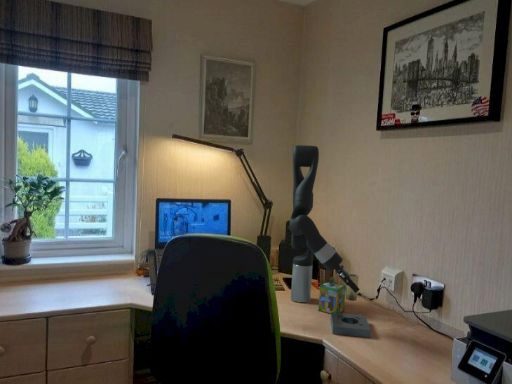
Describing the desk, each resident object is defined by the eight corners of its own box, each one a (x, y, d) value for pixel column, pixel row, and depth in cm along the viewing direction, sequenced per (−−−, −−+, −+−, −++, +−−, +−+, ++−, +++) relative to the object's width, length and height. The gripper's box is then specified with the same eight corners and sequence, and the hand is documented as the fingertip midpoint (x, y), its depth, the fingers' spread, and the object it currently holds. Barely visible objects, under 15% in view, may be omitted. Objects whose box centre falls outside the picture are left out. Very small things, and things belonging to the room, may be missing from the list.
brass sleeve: (345, 296, 166) (346, 273, 165) (356, 297, 165) (357, 274, 165) (345, 300, 162) (347, 276, 161) (357, 301, 161) (359, 277, 160)
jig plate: (330, 319, 173) (330, 312, 173) (364, 322, 171) (365, 315, 171) (332, 334, 157) (333, 326, 157) (370, 337, 155) (370, 330, 155)
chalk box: (337, 316, 177) (339, 282, 177) (317, 311, 182) (319, 278, 181) (344, 310, 185) (347, 277, 184) (325, 305, 190) (328, 274, 189)
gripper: (336, 254, 156) (366, 288, 155) (334, 247, 170) (362, 278, 170) (321, 266, 157) (351, 300, 156) (320, 258, 171) (347, 290, 171)
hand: (356, 289), depth 163 cm, fingers closed on brass sleeve, 4 cm apart
